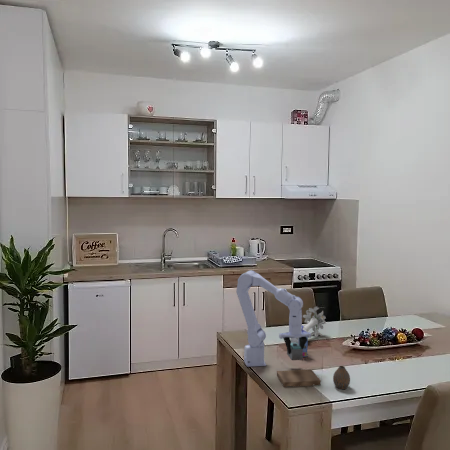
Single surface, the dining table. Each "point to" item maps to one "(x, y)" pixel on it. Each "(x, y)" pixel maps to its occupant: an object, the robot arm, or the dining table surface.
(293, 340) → the ink cartridge box
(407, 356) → the dining table surface
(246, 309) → the robot arm
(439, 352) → the dining table surface
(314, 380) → the walnut stand
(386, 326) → the dining table surface
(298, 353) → the gray teal block
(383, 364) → the dining table surface
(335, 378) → the vase
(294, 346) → the cover plate
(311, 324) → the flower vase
